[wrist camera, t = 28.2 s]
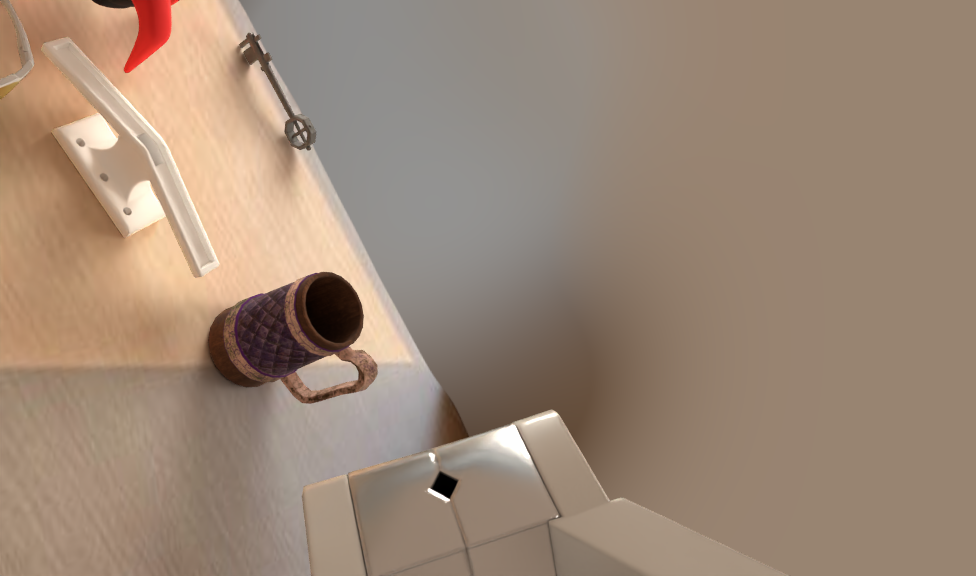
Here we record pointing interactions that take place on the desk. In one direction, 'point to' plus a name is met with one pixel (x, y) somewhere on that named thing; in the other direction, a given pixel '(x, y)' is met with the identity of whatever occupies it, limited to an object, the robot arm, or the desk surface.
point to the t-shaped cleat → (126, 160)
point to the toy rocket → (146, 26)
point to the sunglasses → (8, 83)
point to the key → (280, 95)
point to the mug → (292, 336)
